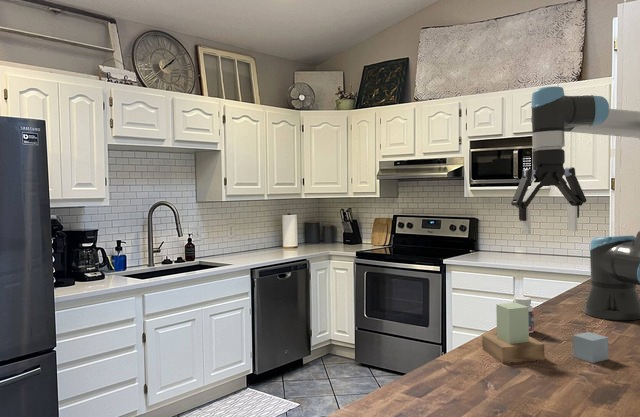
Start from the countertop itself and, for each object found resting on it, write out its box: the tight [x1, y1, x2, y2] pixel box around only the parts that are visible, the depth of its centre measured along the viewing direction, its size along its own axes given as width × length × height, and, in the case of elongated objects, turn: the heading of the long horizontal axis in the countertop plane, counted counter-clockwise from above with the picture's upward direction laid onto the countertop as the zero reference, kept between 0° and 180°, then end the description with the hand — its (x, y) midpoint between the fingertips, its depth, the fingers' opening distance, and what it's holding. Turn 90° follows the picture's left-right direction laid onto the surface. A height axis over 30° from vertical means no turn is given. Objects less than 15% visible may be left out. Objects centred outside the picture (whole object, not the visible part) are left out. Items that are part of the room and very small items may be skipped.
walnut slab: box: [481, 333, 545, 364], centre depth 123 cm, size 10×10×4 cm
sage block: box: [495, 301, 530, 344], centre depth 122 cm, size 5×5×8 cm
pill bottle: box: [514, 296, 535, 334], centre depth 141 cm, size 5×5×9 cm
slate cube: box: [572, 331, 609, 364], centre depth 119 cm, size 5×5×5 cm
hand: (549, 232), depth 135 cm, fingers open, 13 cm apart
